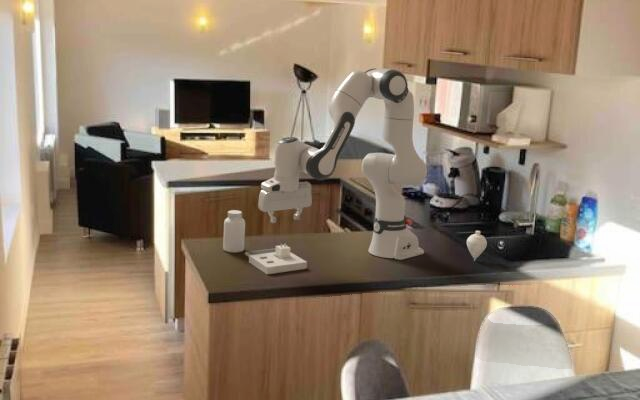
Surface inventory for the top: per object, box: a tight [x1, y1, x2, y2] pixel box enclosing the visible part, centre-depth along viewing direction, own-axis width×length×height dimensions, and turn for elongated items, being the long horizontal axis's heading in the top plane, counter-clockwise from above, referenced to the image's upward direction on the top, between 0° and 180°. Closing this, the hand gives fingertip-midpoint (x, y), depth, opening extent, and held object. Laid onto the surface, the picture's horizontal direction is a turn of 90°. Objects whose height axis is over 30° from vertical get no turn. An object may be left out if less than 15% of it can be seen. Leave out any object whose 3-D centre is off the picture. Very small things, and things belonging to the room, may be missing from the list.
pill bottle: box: [222, 209, 246, 254], centre depth 256 cm, size 8×8×15 cm
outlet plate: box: [248, 251, 308, 275], centre depth 243 cm, size 16×14×3 cm
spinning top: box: [466, 230, 488, 262], centre depth 261 cm, size 8×8×12 cm
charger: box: [275, 242, 292, 259], centre depth 245 cm, size 4×4×7 cm
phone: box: [244, 247, 276, 258], centre depth 253 cm, size 13×7×2 cm, turn 123°
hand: (284, 220), depth 243 cm, fingers open, 8 cm apart
